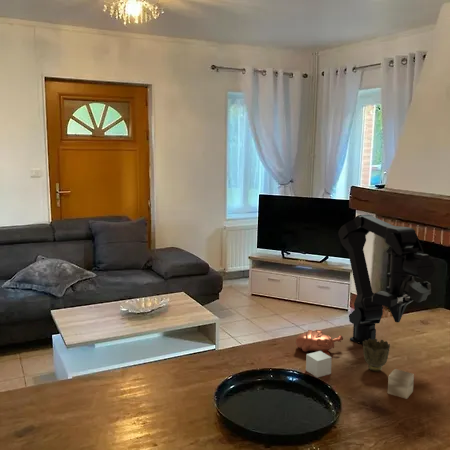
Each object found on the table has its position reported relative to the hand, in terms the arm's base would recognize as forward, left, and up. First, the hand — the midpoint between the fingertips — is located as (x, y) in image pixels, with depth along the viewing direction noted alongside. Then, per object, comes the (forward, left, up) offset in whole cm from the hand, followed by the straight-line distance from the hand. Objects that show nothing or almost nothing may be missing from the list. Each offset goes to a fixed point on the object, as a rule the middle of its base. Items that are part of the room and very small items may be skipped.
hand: (397, 322), depth 147 cm
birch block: (+12, -16, -12) cm, 23 cm away
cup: (0, -10, -12) cm, 16 cm away
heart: (-20, -12, -12) cm, 26 cm away
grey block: (-9, -24, -12) cm, 28 cm away
